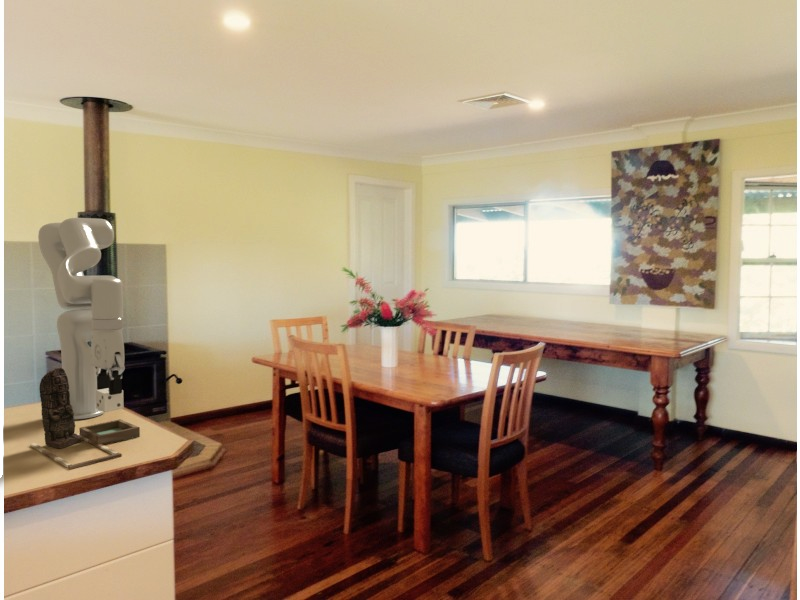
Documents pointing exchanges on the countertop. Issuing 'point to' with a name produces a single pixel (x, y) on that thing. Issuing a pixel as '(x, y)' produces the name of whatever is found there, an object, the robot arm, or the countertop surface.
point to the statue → (57, 410)
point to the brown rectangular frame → (70, 466)
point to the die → (108, 400)
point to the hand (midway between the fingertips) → (109, 391)
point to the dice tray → (110, 432)
